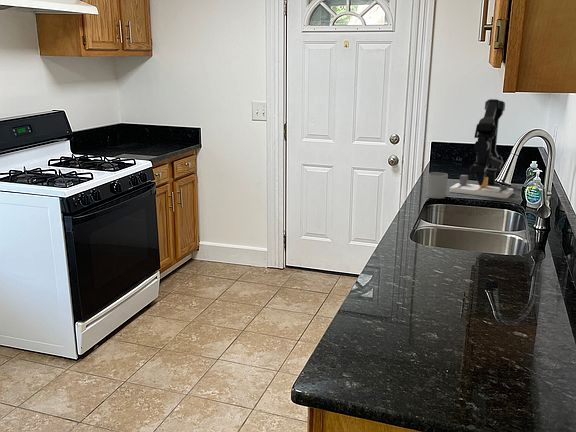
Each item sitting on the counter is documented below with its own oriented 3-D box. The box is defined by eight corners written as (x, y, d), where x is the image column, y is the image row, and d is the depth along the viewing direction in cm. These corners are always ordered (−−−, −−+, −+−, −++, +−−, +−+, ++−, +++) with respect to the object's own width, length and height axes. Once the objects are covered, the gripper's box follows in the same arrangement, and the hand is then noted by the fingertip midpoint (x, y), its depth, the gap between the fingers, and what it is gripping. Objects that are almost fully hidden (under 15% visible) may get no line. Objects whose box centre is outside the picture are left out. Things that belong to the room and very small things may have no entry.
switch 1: (461, 183, 260) (461, 174, 259) (467, 183, 258) (468, 175, 257) (459, 184, 257) (460, 175, 256) (465, 184, 256) (466, 176, 254)
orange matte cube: (480, 185, 255) (481, 176, 254) (487, 185, 253) (488, 177, 252) (479, 186, 252) (479, 177, 251) (485, 187, 251) (486, 178, 250)
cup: (447, 195, 246) (449, 173, 243) (444, 199, 238) (446, 176, 236) (428, 193, 249) (430, 171, 246) (424, 197, 242) (426, 174, 239)
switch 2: (501, 187, 250) (501, 178, 249) (508, 188, 248) (508, 179, 247) (499, 188, 248) (500, 179, 247) (506, 189, 246) (507, 180, 245)
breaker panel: (457, 186, 263) (458, 182, 262) (513, 193, 250) (513, 188, 249) (449, 191, 252) (449, 187, 252) (506, 198, 239) (507, 193, 239)
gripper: (497, 154, 233) (494, 190, 237) (507, 149, 248) (504, 183, 252) (470, 152, 239) (467, 187, 242) (482, 147, 254) (479, 181, 258)
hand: (480, 185), depth 248 cm, fingers closed
